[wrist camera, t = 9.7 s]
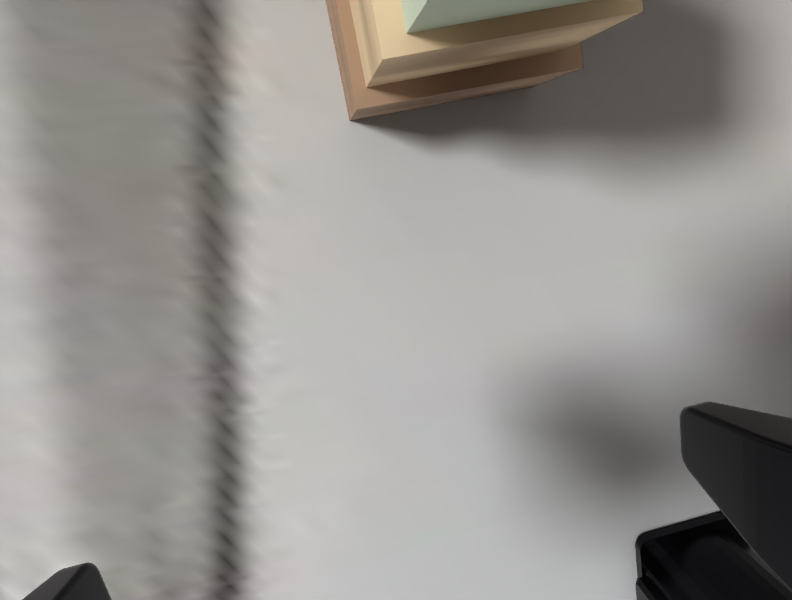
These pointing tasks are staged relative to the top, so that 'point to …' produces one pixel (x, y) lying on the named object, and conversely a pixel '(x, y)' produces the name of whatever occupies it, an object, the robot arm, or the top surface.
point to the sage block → (467, 11)
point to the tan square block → (439, 85)
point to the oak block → (473, 37)
